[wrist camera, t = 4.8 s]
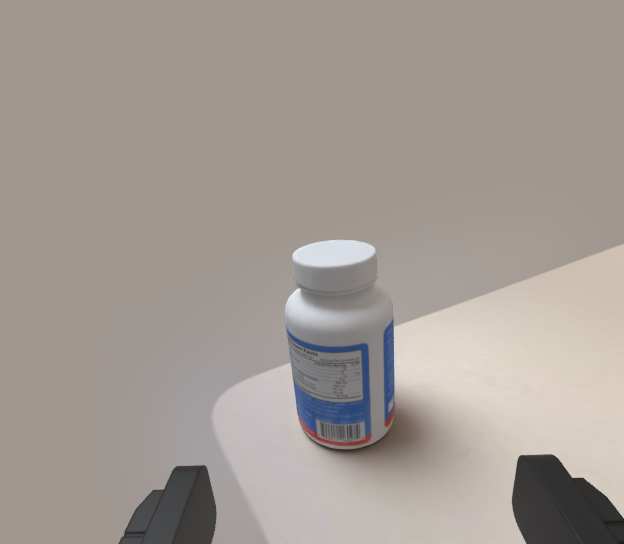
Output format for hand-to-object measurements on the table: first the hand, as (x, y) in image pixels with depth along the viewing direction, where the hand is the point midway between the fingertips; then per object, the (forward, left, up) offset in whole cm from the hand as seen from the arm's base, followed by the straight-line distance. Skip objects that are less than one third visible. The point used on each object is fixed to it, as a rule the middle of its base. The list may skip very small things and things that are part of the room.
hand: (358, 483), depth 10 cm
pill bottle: (+5, +9, -7) cm, 12 cm away
